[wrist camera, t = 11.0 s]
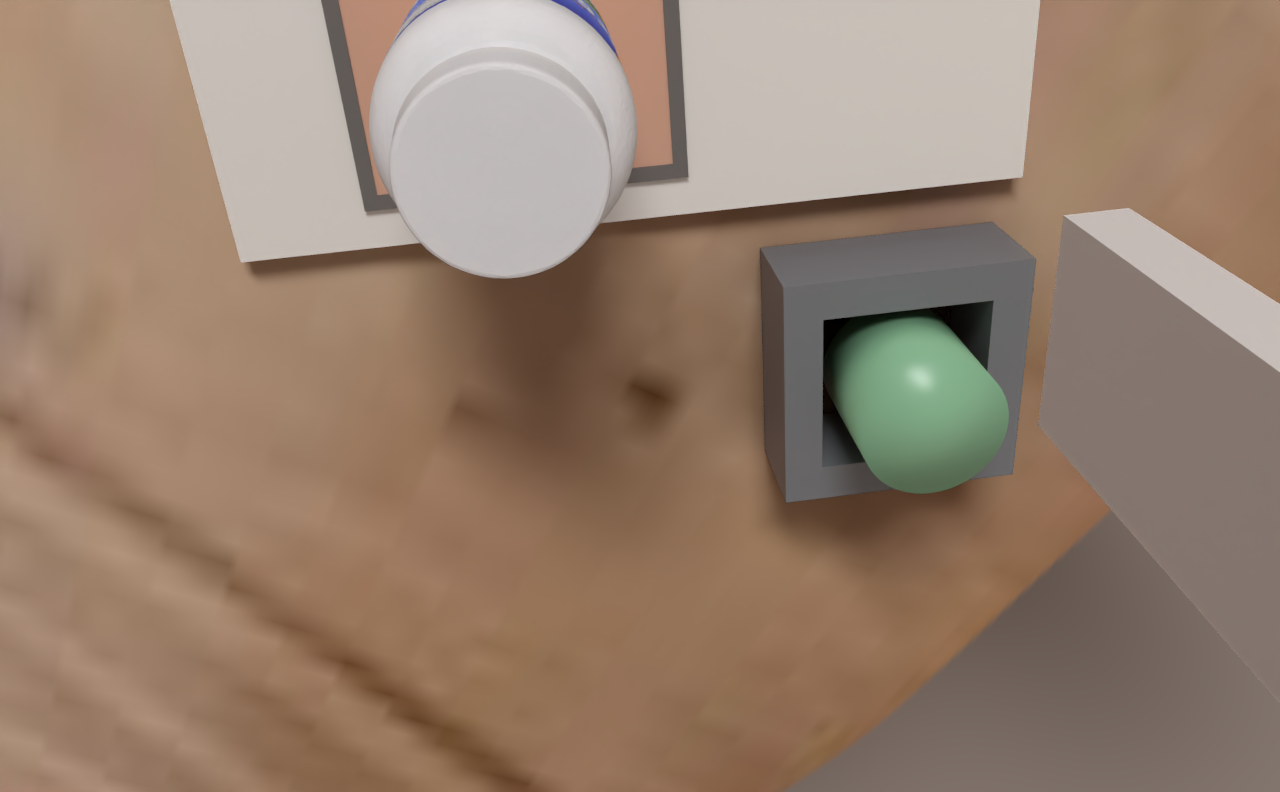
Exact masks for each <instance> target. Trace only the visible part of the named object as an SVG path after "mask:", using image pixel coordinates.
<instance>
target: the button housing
mask: <svg viewBox="0 0 1280 792" xmlns="http://www.w3.org/2000/svg"><path fill="white" fill-rule="evenodd" d="M760 254H761V299H762V344H763V389H764V433H765V452H766V455H767V457H768V460H769V462H770V465H771V467H772V470H773V472H774V475H775V477H776V480H777V482H778V484H779V487H780V489H781V492H782V494H783V497H784V499H785V502H786V503H788V502H796V501H804V500H812V499H820V498H828V497H836V496H844V495H852V494H860V493H868V492H875V491H883V490H891V489H894V488H892V487H890V486H888V485H886V484H885V483H883V482H882V481H880V480H879V479H878V478H877V477H876V476H875V475H874V474H873V472H872V471H871V470H870V468H869V466H868V465H867V463H866V461H865V459H864V458H863V456H862V454H861V452H860V450H859V449H858V447H857V445H856V443H855V441H854V439H853V438H852V436H851V434H850V432H849V430H848V429H847V427H846V425H845V423H844V421H843V420H842V418H841V416H840V414H839V413H831V414H823V320H829V319H838V318H846V317H855V316H864V315H872V314H881V313H889V312H898V311H907V310H915V309H924V308H933V307H941V306H950V305H951V314H950V329H951V330H952V331H953V332H954V333H955V334H956V336H957V337H958V338H959V339H960V340H961V341H962V343H963V344H964V345H965V346H966V347H967V348H968V350H969V351H970V352H971V353H972V354H973V355H974V357H975V358H976V359H977V360H978V361H979V362H980V364H981V365H982V366H983V367H984V368H985V369H986V371H987V372H988V373H989V374H990V375H991V376H992V378H993V379H994V380H995V381H996V382H997V383H998V385H999V386H1000V388H1001V389H1002V391H1003V393H1004V395H1005V397H1006V400H1007V404H1008V410H1009V422H1008V428H1007V432H1006V435H1005V438H1004V441H1003V443H1002V445H1001V447H1000V448H999V450H998V452H997V453H996V455H995V456H994V457H993V459H992V460H991V461H990V462H989V463H988V464H987V465H986V466H985V467H984V468H983V469H982V470H981V471H980V472H979V473H977V474H976V475H975V476H973V477H972V478H970V479H969V480H971V479H979V478H987V477H995V476H1003V475H1011V474H1013V467H1014V458H1015V448H1016V439H1017V430H1018V421H1019V412H1020V403H1021V394H1022V385H1023V376H1024V367H1025V358H1026V348H1027V339H1028V330H1029V321H1030V312H1031V303H1032V294H1033V285H1034V276H1035V267H1036V258H1035V257H1034V256H1032V255H1031V254H1030V253H1029V252H1028V251H1026V250H1025V249H1024V248H1023V247H1022V246H1021V245H1019V244H1018V243H1017V242H1016V241H1015V240H1013V239H1012V238H1011V237H1010V236H1009V235H1008V234H1006V233H1005V232H1004V231H1003V230H1002V229H1000V228H999V227H998V226H997V225H996V224H995V223H993V222H989V223H980V224H971V225H962V226H953V227H944V228H935V229H926V230H917V231H909V232H900V233H891V234H882V235H873V236H864V237H855V238H846V239H837V240H828V241H819V242H810V243H801V244H792V245H783V246H774V247H765V248H760Z"/></svg>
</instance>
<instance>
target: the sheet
mask: <svg viewBox="0 0 1280 792" xmlns="http://www.w3.org/2000/svg"><path fill="white" fill-rule="evenodd" d="M416 1H417V0H170V4H171V8H172V11H173V15H174V19H175V22H176V26H177V30H178V33H179V37H180V41H181V44H182V48H183V52H184V55H185V59H186V63H187V66H188V70H189V74H190V77H191V81H192V85H193V88H194V92H195V96H196V100H197V103H198V107H199V111H200V114H201V118H202V122H203V125H204V129H205V133H206V136H207V140H208V144H209V147H210V151H211V155H212V158H213V162H214V166H215V169H216V173H217V177H218V180H219V184H220V188H221V191H222V195H223V199H224V202H225V206H226V210H227V213H228V217H229V221H230V224H231V228H232V232H233V235H234V239H235V243H236V247H237V250H238V254H239V258H240V261H241V262H250V261H260V260H269V259H278V258H287V257H296V256H305V255H315V254H324V253H333V252H342V251H351V250H360V249H370V248H379V247H388V246H397V245H406V244H415V243H420V242H419V241H418V240H417V239H416V237H415V236H414V235H413V234H412V232H411V231H410V230H409V228H408V227H407V225H406V224H405V222H404V220H403V219H402V217H401V215H400V213H399V210H398V208H397V206H396V204H395V203H394V201H393V200H392V198H391V197H390V195H389V193H388V192H387V190H386V188H385V186H384V184H383V182H382V180H381V178H380V176H379V173H378V171H377V168H376V165H375V162H374V158H373V153H372V149H371V142H370V135H369V110H370V102H371V97H372V92H373V88H374V84H375V81H376V78H377V75H378V73H379V70H380V68H381V65H382V63H383V61H384V59H385V56H386V54H387V52H388V50H389V49H390V47H391V45H392V43H393V41H394V39H395V37H396V35H397V33H398V32H399V30H400V28H401V26H402V24H403V22H404V20H405V18H406V16H407V15H408V13H409V11H410V10H411V8H412V7H413V5H414V4H415V2H416ZM591 1H592V3H593V4H594V6H595V7H596V8H597V10H598V12H599V13H600V15H601V17H602V19H603V21H604V23H605V25H606V27H607V30H608V32H609V34H610V37H611V39H612V42H613V44H614V47H615V49H616V52H617V54H618V57H619V59H620V62H621V64H622V66H623V69H624V72H625V74H626V76H627V79H628V82H629V85H630V88H631V92H632V95H633V99H634V104H635V110H636V117H637V146H636V153H635V159H634V164H633V168H632V171H631V174H630V177H629V179H628V182H627V184H626V186H625V188H624V190H623V192H622V194H621V196H620V198H619V200H618V202H617V203H616V205H615V206H614V207H613V209H612V210H611V211H610V213H609V214H608V215H607V216H606V218H605V219H604V220H603V221H602V222H601V223H608V222H617V221H626V220H635V219H644V218H654V217H663V216H672V215H681V214H690V213H699V212H709V211H718V210H727V209H736V208H745V207H754V206H764V205H773V204H782V203H791V202H800V201H809V200H819V199H828V198H837V197H846V196H855V195H864V194H874V193H883V192H892V191H901V190H910V189H919V188H928V187H938V186H947V185H956V184H965V183H974V182H983V181H993V180H1002V179H1011V178H1020V177H1023V168H1024V158H1025V148H1026V138H1027V128H1028V118H1029V108H1030V98H1031V88H1032V78H1033V67H1034V57H1035V47H1036V37H1037V27H1038V17H1039V7H1040V0H591Z"/></svg>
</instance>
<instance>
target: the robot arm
mask: <svg viewBox="0 0 1280 792" xmlns="http://www.w3.org/2000/svg"><path fill="white" fill-rule="evenodd" d="M1038 426H1039V427H1040V428H1041V429H1042V430H1043V432H1044V433H1045V434H1046V435H1047V436H1048V437H1049V438H1050V440H1051V441H1052V442H1053V443H1054V444H1055V445H1056V447H1057V448H1058V449H1059V450H1060V451H1061V452H1062V453H1063V455H1064V456H1065V457H1066V458H1067V459H1068V460H1069V462H1070V463H1071V464H1072V465H1073V466H1074V467H1075V468H1076V470H1077V471H1078V472H1079V473H1080V474H1081V475H1082V476H1083V478H1084V479H1085V480H1086V481H1087V482H1088V483H1089V485H1090V486H1091V487H1092V488H1093V489H1094V490H1095V491H1096V493H1097V494H1098V495H1099V496H1100V497H1101V498H1102V500H1103V501H1104V502H1105V503H1106V504H1107V505H1108V506H1109V508H1110V509H1111V510H1112V511H1113V512H1114V513H1115V514H1116V515H1117V517H1118V518H1119V519H1120V520H1121V521H1122V523H1123V524H1124V525H1125V526H1126V527H1127V528H1128V529H1129V531H1130V532H1131V533H1132V534H1133V535H1134V536H1135V537H1136V538H1137V540H1138V541H1139V542H1140V543H1141V544H1142V545H1143V547H1144V548H1145V549H1146V550H1147V551H1148V552H1149V554H1150V555H1151V556H1152V557H1153V558H1154V559H1155V561H1156V562H1157V563H1158V564H1159V565H1160V566H1161V567H1162V569H1163V570H1164V571H1165V572H1166V573H1167V574H1168V575H1169V576H1170V578H1171V579H1172V580H1173V581H1174V582H1175V583H1176V585H1177V586H1178V587H1179V588H1180V589H1181V590H1182V592H1183V593H1184V594H1185V595H1186V596H1187V597H1188V598H1189V600H1190V601H1191V602H1192V603H1193V604H1194V605H1195V607H1196V608H1197V609H1198V610H1199V611H1200V612H1201V613H1202V615H1203V616H1204V617H1205V618H1206V619H1207V620H1208V622H1209V623H1210V624H1211V625H1212V626H1213V627H1214V628H1215V630H1216V631H1217V632H1218V633H1219V634H1220V635H1221V637H1222V638H1223V639H1224V640H1225V641H1226V642H1227V643H1228V645H1229V646H1230V647H1231V648H1232V649H1233V650H1234V651H1235V652H1236V654H1237V655H1238V656H1239V657H1240V658H1241V660H1242V661H1243V662H1244V663H1245V664H1246V665H1247V666H1248V668H1249V669H1250V670H1251V671H1252V672H1253V673H1254V675H1255V676H1256V677H1257V678H1258V679H1259V680H1260V681H1261V683H1262V684H1263V685H1264V686H1265V687H1266V688H1267V689H1268V691H1269V692H1270V693H1271V694H1272V695H1273V696H1274V697H1275V699H1276V700H1277V701H1278V702H1279V703H1280V304H1279V303H1277V302H1276V301H1274V300H1272V299H1271V298H1269V297H1268V296H1266V295H1265V294H1263V293H1261V292H1260V291H1258V290H1257V289H1255V288H1254V287H1252V286H1250V285H1249V284H1247V283H1246V282H1244V281H1243V280H1241V279H1239V278H1238V277H1236V276H1235V275H1233V274H1232V273H1230V272H1229V271H1227V270H1225V269H1224V268H1222V267H1221V266H1219V265H1218V264H1216V263H1214V262H1213V261H1211V260H1210V259H1208V258H1207V257H1205V256H1203V255H1202V254H1200V253H1199V252H1197V251H1196V250H1194V249H1192V248H1191V247H1189V246H1188V245H1186V244H1185V243H1183V242H1181V241H1180V240H1178V239H1177V238H1175V237H1174V236H1172V235H1170V234H1169V233H1167V232H1166V231H1164V230H1163V229H1161V228H1160V227H1158V226H1156V225H1155V224H1153V223H1152V222H1150V221H1149V220H1147V219H1145V218H1144V217H1142V216H1141V215H1139V214H1138V213H1136V212H1134V211H1133V210H1131V209H1130V208H1125V209H1116V210H1107V211H1098V212H1090V213H1081V214H1072V215H1064V216H1063V224H1062V233H1061V241H1060V249H1059V257H1058V266H1057V274H1056V282H1055V290H1054V299H1053V307H1052V315H1051V323H1050V332H1049V340H1048V348H1047V356H1046V365H1045V373H1044V381H1043V389H1042V398H1041V406H1040V414H1039V422H1038Z"/></svg>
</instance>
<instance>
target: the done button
mask: <svg viewBox="0 0 1280 792" xmlns="http://www.w3.org/2000/svg"><path fill="white" fill-rule="evenodd" d="M823 379H824V383H825V387H826V390H827V392H828V394H829V396H830V398H831V400H832V401H833V403H834V405H835V407H836V409H837V411H838V412H839V414H840V416H841V418H842V420H843V421H844V423H845V425H846V427H847V429H848V430H849V432H850V434H851V436H852V438H853V439H854V441H855V443H856V445H857V447H858V449H859V450H860V452H861V454H862V456H863V458H864V459H865V461H866V463H867V465H868V466H869V468H870V470H871V471H872V472H873V474H874V475H875V476H876V477H877V478H878V479H879V480H880V481H882V482H883V483H885V484H886V485H888V486H890V487H892V488H894V489H896V490H900V491H903V492H908V493H918V494H925V493H934V492H940V491H944V490H947V489H950V488H953V487H955V486H958V485H960V484H962V483H964V482H965V481H967V480H969V479H970V478H972V477H973V476H975V475H976V474H977V473H979V472H980V471H981V470H982V469H983V468H984V467H985V466H986V465H987V464H988V463H989V462H990V461H991V460H992V459H993V457H994V456H995V455H996V453H997V452H998V450H999V448H1000V447H1001V445H1002V443H1003V441H1004V438H1005V435H1006V432H1007V428H1008V422H1009V410H1008V404H1007V400H1006V397H1005V395H1004V393H1003V391H1002V389H1001V388H1000V386H999V385H998V383H997V382H996V381H995V380H994V379H993V378H992V376H991V375H990V374H989V373H988V372H987V371H986V369H985V368H984V367H983V366H982V365H981V364H980V362H979V361H978V360H977V359H976V358H975V357H974V355H973V354H972V353H971V352H970V351H969V350H968V348H967V347H966V346H965V345H964V344H963V343H962V341H961V340H960V339H959V338H958V337H957V336H956V334H955V333H954V332H953V331H952V330H951V329H950V327H949V326H948V325H947V324H946V323H945V322H944V320H943V319H942V318H941V317H940V316H939V315H938V314H936V313H935V312H934V311H932V310H931V309H929V308H924V309H915V310H907V311H898V312H889V313H881V314H872V315H864V316H855V317H853V318H851V319H850V320H849V321H848V322H847V323H846V324H844V325H843V326H842V328H841V329H840V330H839V331H838V332H837V333H836V335H835V336H834V338H833V339H832V341H831V343H830V345H829V347H828V349H827V352H826V355H825V359H824V365H823Z"/></svg>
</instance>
